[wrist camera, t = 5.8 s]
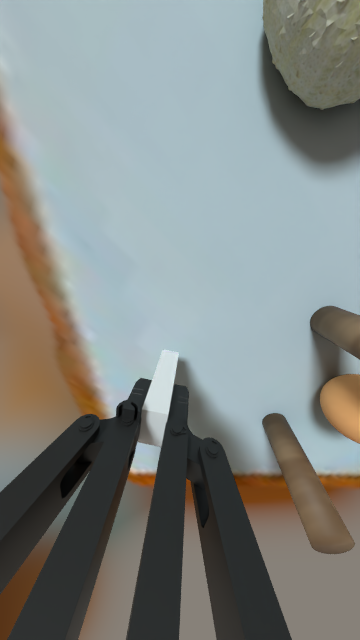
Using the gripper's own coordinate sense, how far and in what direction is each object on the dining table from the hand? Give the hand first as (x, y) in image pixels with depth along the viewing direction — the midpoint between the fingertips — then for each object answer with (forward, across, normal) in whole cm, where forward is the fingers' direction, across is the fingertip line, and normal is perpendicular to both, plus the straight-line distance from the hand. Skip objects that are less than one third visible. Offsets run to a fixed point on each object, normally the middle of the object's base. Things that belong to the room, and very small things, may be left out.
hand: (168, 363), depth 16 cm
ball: (-1, -17, 0) cm, 17 cm away
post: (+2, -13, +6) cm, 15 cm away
